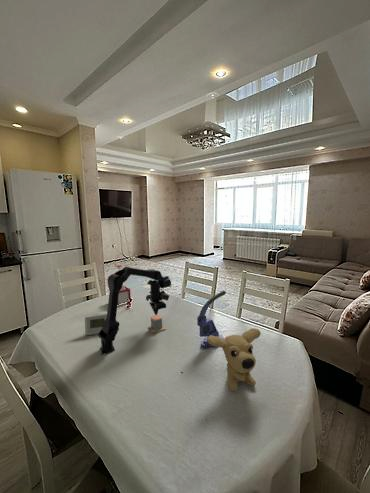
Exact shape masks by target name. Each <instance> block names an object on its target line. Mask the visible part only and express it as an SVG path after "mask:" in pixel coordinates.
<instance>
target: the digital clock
mask: <svg viewBox="0 0 370 493" xmlns="http://www.w3.org/2000/svg"><path fill="white" fill-rule="evenodd" d="M106 318H107V312H105V313H99V314H92V315H87V316H85V317H84V333H85V335H86V336H90V335H91V336H93V335H92V334H95V335H98V334H99V332H100V331H101V329H102V327H103V323H104V321H105V320H106Z"/></svg>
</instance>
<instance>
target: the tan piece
mask: <svg viewBox="0 0 370 493" xmlns="http://www.w3.org/2000/svg"><path fill="white" fill-rule="evenodd" d="M147 328H148V329H149V331H150V332H151V333H152V334H155V333H159V332H163V331H165V330H166V328H165V327H164V326H163V325H162V328H161V329H157V330H154V329H153V328H152V327H151V325H148V327H147Z"/></svg>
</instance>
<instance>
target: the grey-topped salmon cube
mask: <svg viewBox="0 0 370 493" xmlns="http://www.w3.org/2000/svg"><path fill="white" fill-rule="evenodd" d="M150 326H151V327H152V328H153V329H154V330H157V329H161V328H162V326H163V317H162V316H161V315H159V314H157V315H153V316H150Z"/></svg>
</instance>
